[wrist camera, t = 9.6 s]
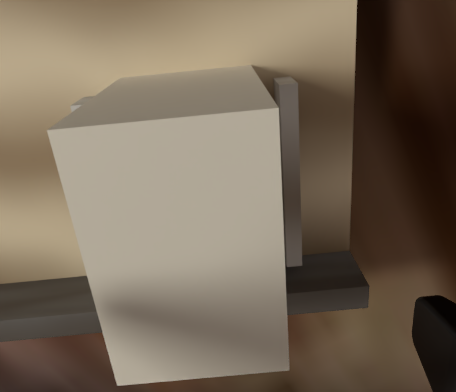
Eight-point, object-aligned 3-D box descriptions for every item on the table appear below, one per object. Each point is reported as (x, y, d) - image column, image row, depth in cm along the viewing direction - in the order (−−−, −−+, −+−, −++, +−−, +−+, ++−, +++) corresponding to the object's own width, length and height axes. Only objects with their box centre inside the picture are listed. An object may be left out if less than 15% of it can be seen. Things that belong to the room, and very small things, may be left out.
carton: (250, 64, 15) (278, 108, 8) (262, 242, 18) (289, 375, 11) (120, 77, 15) (46, 130, 8) (153, 252, 18) (118, 391, 11)
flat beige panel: (-301, -38, 14) (-481, -55, 10) (346, -107, 14) (393, -149, 10) (-120, 299, 20) (-195, 364, 16) (339, 255, 20) (367, 311, 16)
